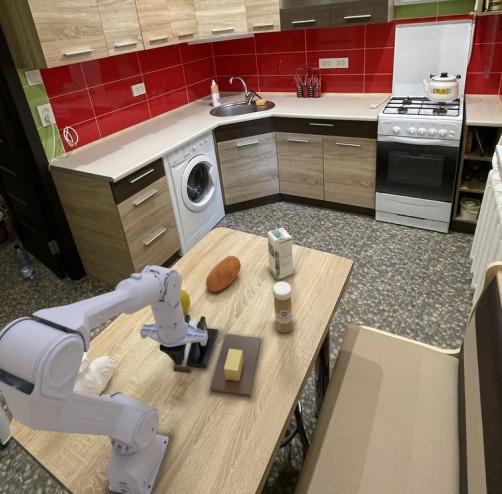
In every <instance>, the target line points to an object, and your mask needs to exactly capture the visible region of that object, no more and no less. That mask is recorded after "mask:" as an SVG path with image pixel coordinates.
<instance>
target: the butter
mask: <svg viewBox="0 0 502 494" xmlns="http://www.w3.org/2000/svg"><path fill="white" fill-rule="evenodd" d="M243 362H244V358H243V351H242V350H236V349H229V351H228V355H227V359H226V363H225V366H224V373H225V379H227V380H234V381H239V380H240V375H241V371H242V366H243Z"/></svg>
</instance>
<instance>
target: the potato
mask: <svg viewBox="0 0 502 494" xmlns="http://www.w3.org/2000/svg"><path fill="white" fill-rule="evenodd" d="M241 267H242V264H241V260H240V259H239V258H238V257H236V256H235V255H228V256H226V257H225V258H223V259H222V260H221V261H219V262H218V263H217V264H216V265H215V266H214V267H213V268H212V269H211V271H210V272H209V273H208V275H207V277H206V279H205V286H206V287H207V289H208V290H209V291H210V292H213V293H216V292H221V291H223V290H224V289H226V288H227V287H228V286H230V285H231V284H232V283H233V282H234V281H235V280H236V278H237V276H238V274H239V273H240V271H241Z"/></svg>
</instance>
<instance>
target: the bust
mask: <svg viewBox="0 0 502 494" xmlns="http://www.w3.org/2000/svg"><path fill="white" fill-rule="evenodd" d="M90 352H91V351H90V349H89V350H88V352H87V353H86V352H84V354H83V358H82V362H81V366H80V369H79V372H78V376H77V379H76V382H75V386H74V389H73V390H77V391H81V392H86V393H90V394H94V395H99V396H101V395H102V393H103V392H104V391H105V389H106V388H107V387H108V384H109V382H110V380H111V379H112V377H113V375H114V373H115V365H114V361H113V359H112V358H111V356H109V355H103V356H100V357H97V358H94V359H92V361H90V359H88V357H91V354H90Z"/></svg>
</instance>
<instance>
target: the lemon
mask: <svg viewBox="0 0 502 494" xmlns="http://www.w3.org/2000/svg"><path fill="white" fill-rule="evenodd" d="M181 294H182V295H181V299H180V301H181V306H182V310H183V315H184V314H185V313H187V312H188V311H189V309H190V307H191V297H190V295H189V294H188V292H187V291H186V290H184V289H181Z"/></svg>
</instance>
